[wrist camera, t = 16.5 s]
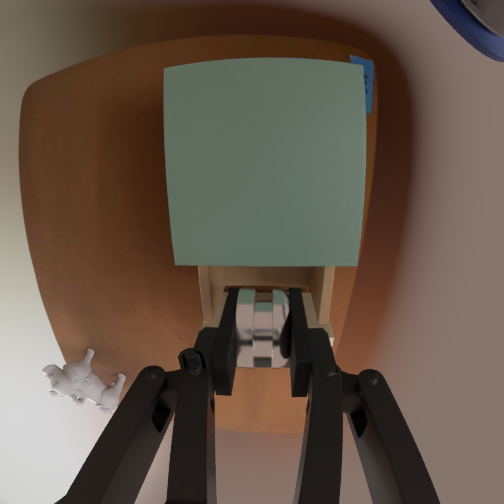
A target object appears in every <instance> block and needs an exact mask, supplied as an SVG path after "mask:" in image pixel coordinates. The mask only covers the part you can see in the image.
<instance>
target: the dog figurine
mask: <svg viewBox="0 0 504 504" xmlns="http://www.w3.org/2000/svg"><path fill="white" fill-rule="evenodd" d="M93 355H94V351H93V350H92V349H90V348H88V350H87V355H86V356H85V357H84V358H83V359H82V360H81V361H78V362H70V363H68V364H66V365H64V366H63V370H62V369H61V368H59V367H57V366H56V365H48V366H47V367H45V368H44V369H43V370H42V372H43V373H44V374H45V375H46V376H47V378H48V382H49V383H50V385H51V386H52V389H53V391H50V394H51V395H52V396H61V397H65V396H70V397H71V398H72V400H73V402H74V403H75V404H77V405H82V404H83V403H84V402H85V398H86V399H88V400H90V401H91V402H93V403H94V404H96V405H97V408H98V409H99V410H100V411H101V412H103V413H111V411H112V410H113V409H115V407H116V406H117V405H118V402H119V393H121V391H122V386H123V383H124V381H125V376H124V375H123V374H121V373H119V374H118V377H119V379H118V381H117V382H116V383H115V382H112V385H107V384H104V383H103V382H102V381H101V380H100V378H98V377H97V375H96V374H95V373H94V372H93V371H92V369H91V367H90V362H91V359H92V357H93ZM76 396H78V397H79V399H77V397H76Z"/></svg>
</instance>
